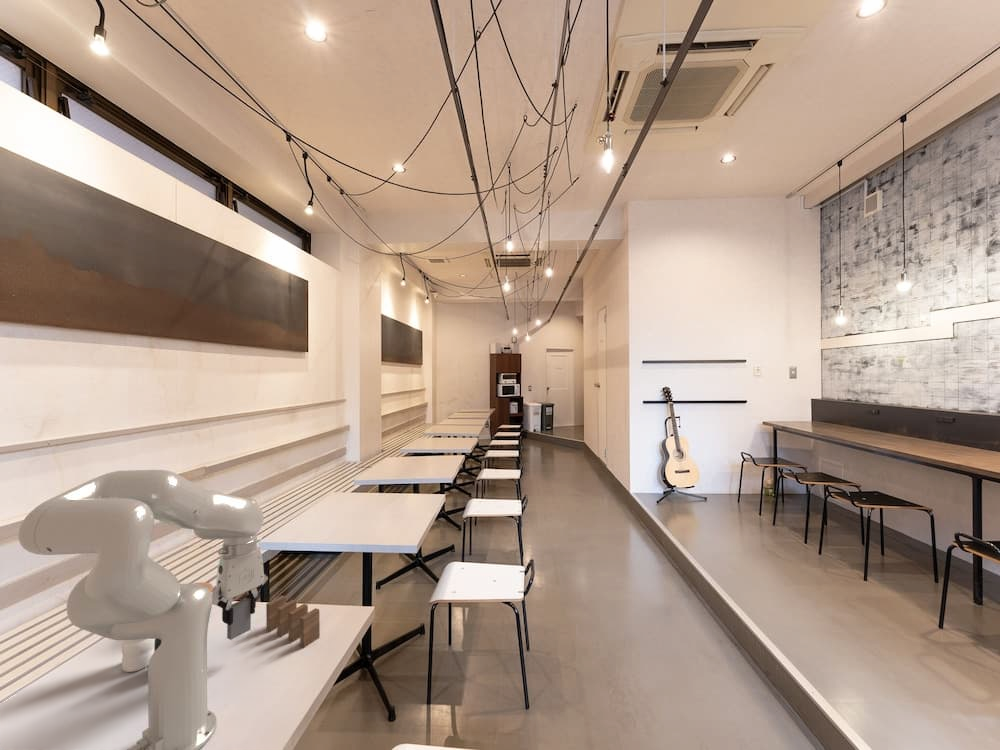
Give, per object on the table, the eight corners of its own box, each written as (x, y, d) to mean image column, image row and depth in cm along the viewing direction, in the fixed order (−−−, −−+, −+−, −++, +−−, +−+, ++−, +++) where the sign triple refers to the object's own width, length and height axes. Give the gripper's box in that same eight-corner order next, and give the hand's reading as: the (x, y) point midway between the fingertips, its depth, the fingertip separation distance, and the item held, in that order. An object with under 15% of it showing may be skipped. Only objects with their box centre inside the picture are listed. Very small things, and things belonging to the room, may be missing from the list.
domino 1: (250, 629, 108) (250, 598, 108) (230, 639, 104) (231, 607, 104) (246, 628, 109) (247, 597, 109) (227, 638, 104) (227, 606, 105)
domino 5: (319, 637, 116) (319, 609, 116) (304, 648, 112) (303, 619, 112) (315, 635, 117) (315, 608, 117) (300, 646, 112) (299, 617, 112)
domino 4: (307, 632, 118) (307, 605, 118) (292, 642, 114) (292, 614, 114) (304, 630, 119) (304, 603, 119) (288, 640, 115) (288, 612, 115)
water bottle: (116, 667, 104) (116, 570, 104) (150, 651, 111) (149, 559, 111) (129, 677, 101) (128, 576, 101) (163, 659, 107) (162, 565, 107)
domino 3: (296, 627, 121) (296, 600, 121) (280, 637, 116) (280, 609, 116) (293, 626, 121) (292, 599, 121) (277, 635, 117) (277, 607, 117)
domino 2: (285, 622, 123) (285, 596, 123) (269, 632, 119) (269, 604, 118) (282, 621, 124) (282, 595, 124) (266, 630, 119) (266, 603, 119)
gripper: (213, 562, 98) (211, 639, 97) (279, 538, 113) (279, 605, 112) (196, 556, 101) (194, 631, 101) (263, 534, 116) (262, 599, 116)
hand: (239, 617), depth 106 cm, fingers closed on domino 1, 4 cm apart
